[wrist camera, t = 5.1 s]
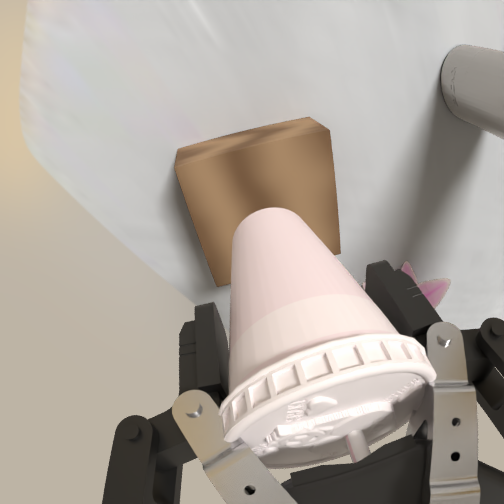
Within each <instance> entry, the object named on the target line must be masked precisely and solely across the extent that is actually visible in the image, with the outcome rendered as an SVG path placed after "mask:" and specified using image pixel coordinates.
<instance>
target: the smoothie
mask: <svg viewBox="0 0 504 504" xmlns="http://www.w3.org/2000/svg"><path fill="white" fill-rule="evenodd" d="M436 376H437V375H436V372H435V370H434V369H433V367H432V365H431V363H430V362H429V360H428V358H427V357H426V352H425V348H424V347H423V346H422V345H421V344H420V343H419V342H418V341H417V340H415V339H414V338H412V337H408V336H405V335H401V334H399V333H398V332H397V330H396V329H395V328H394V326H393V325H392V324H391V323H390V321H389V320H388V319H387V317H386V316H385V315H384V314H383V312H382V311H381V310H380V309H379V307H378V306H377V305H376V304H375V303H374V302H373V301H372V299H371V298H370V297H369V296H368V295H367V293H366V292H365V291H364V290H363V289H362V287H361V286H360V285H359V284H358V283H357V282H356V280H355V279H354V278H353V277H352V276H351V274H350V273H349V272H348V271H347V270H346V269H345V267H344V266H343V265H342V264H341V263H340V262H339V260H338V259H337V258H336V257H335V256H334V255H333V254H332V252H331V251H330V250H329V249H328V248H327V247H326V246H325V244H324V243H323V242H322V241H321V240H320V239H319V238H318V237H317V235H316V234H315V233H314V232H313V231H312V230H311V229H310V228H309V226H308V225H307V224H306V223H305V222H304V221H303V220H302V219H301V218H300V217H299V216H298V215H297V214H296V213H294V212H292V211H290V210H287V209H284V208H276V207H274V208H265V209H262V210H259V211H256V212H254V213H252V214H251V215H249V216H248V217H246V218H245V219H244V220H243V221H242V222H241V223H240V224H239V226H238V227H237V229H236V231H235V233H234V236H233V241H232V267H231V300H230V343H229V395H228V396H227V397H226V399H225V400H224V401H223V402H222V403H221V406H220V409H219V412H218V415H220V416H221V420H222V428H223V436H224V437H223V438H224V440H225V441H226V442H234V441H236V440H238V439H239V437H241V438H242V440H243V441H244V442H245V443H246V444H247V445H248V446H249V447H250V449H251V450H252V451H253V452H254V454H255V455H256V456H257V457H258V458H259V460H260V461H261V462H262V463H263V465H264V466H265V467H266V468H267V469H283V468H294V467H303V466H309V465H314V464H318V463H323V462H326V461H330V460H334V459H337V458H340V457H343V456H346V455H349V454H350V456H351V459H352V462H353V463H356V462H358V461H360V460H362V459H363V458H365V457H366V456H368V455H370V454H371V453H370V450H369V447H368V446H370V445H372V444H374V443H376V442H378V441H379V440H381V439H383V438H385V437H386V436H388V435H390V434H391V433H393V432H395V431H396V430H397V429H399V428H400V427H402V426H403V425H404V424H406V423H407V422H408V421H409V420H410V417H411V414H412V411H413V410H416V411H417V410H418V408H419V407H420V405H421V403H422V401H423V398H424V391H425V386H426V385H427V384H428V382H432V381H434V380H435V379H436Z"/></svg>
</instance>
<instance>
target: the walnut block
mask: <svg viewBox="0 0 504 504" xmlns="http://www.w3.org/2000/svg"><path fill="white" fill-rule="evenodd" d="M174 169H175V172H176V175H177V178H178V181H179V183H180V186H181V189H182V192H183V195H184V198H185V201H186V204H187V207H188V209H189V212H190V215H191V218H192V221H193V224H194V226H195V229H196V232H197V235H198V238H199V240H200V243H201V246H202V249H203V251H204V254H205V257H206V259H207V262H208V265H209V267H210V270H211V273H212V275H213V278H214V281H215V283H216V286H217V287H219V286H223V285H227V284H231V267H232V241H233V236H234V233H235V231H236V229H237V227H238V226H239V224H240V223H241V222H242V221H243V220H244V219H245V218H246V217H248V216H249V215H251V214H252V213H254V212H256V211H259V210H262V209H265V208H274V207H276V208H284V209H287V210H290V211H292V212H294V213H296V214H297V215H298V216H299V217H300V218H301V219H302V220H303V221H304V222H305V223H306V224H307V225H308V226H309V228H310V229H311V230H312V231H313V232H314V233H315V234H316V235H317V237H318V238H319V239H320V240H321V241H322V242H323V243H324V244H325V246H326V247H327V248H328V249H329V250H330V251H331V252H332V254H333V255H338V254H341V250H340V233H339V218H338V205H337V193H336V183H335V172H334V163H333V154H332V145H331V137H330V130H329V129H327V128H326V127H324V126H323V125H321V124H320V123H318V122H316V121H315V120H313V119H312V118H310V117H306V118H301V119H296V120H291V121H286V122H281V123H276V124H272V125H267V126H263V127H259V128H254V129H250V130H246V131H242V132H238V133H234V134H230V135H226V136H222V137H218V138H215V139H211V140H207V141H204V142H200V143H197V144H193V145H190V146H186V147H183V148H180V149H178V151H177V156H176V161H175V166H174Z"/></svg>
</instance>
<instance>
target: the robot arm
mask: <svg viewBox="0 0 504 504" xmlns="http://www.w3.org/2000/svg"><path fill="white" fill-rule="evenodd" d="M441 86H442V93H443V96H444V100H445V102H446V104H447V106H448V108H449V109H450V111H451V112H452V113H453V114H454V115H455V116H456V117H458V118H460V119H462V120H464V121H466V122H468V123H471V124H473V125H475V126H477V127H479V128H482V129H483V130H485V131H488V132H490V133H492V134H494V135H496V136H498V137H500V138H502V139H504V52H503V51H498V50H493V49H489V48H483V47H477V46H471V45H460V46H457V47H455V48H454V49H452V50H451V51H450V52H449V54H448V55H447V57H446V59H445V61H444V64H443V67H442V73H441ZM365 292H366V293H367V295H368V296H369V297H370V298H371V299H372V301H373V302H374V303H375V304H376V305H377V306H378V307H379V309H380V310H381V311H382V312H383V314H384V315H385V316H386V317H387V319H388V320H389V321H390V323H391V324H392V325H393V326H394V328H395V329H396V330H397V332H398V333H399V334H401V335H405V336H408V337H412V338H414V339H415V340H417V341H418V342H419V343H420V344H421V345H422V346H423V347H424V348H425V352H426V357H427V358H428V360H429V362H430V363H431V365H432V367H433V369H434V370H435V372H436V375H437V376H436V379H435V380H434V381H432V382H428V384H427V385H426V386H425V391H424V398H423V401H422V403H421V405H420V407H419V408H418V410H417V411H416V410H413V411H412V414H411V417H410V420H409V425H408V428H407V432H406V436H405V437H403V438H401V439H398V440H396V441H393V442H391V443H388V444H385V445H383V446H382V447H381V448H379V449H377V450H376V451H375V452H373V453H371V454H370V455H368V456H366V457H365V458H363V459H362V460H360V461H358V462H356V463H351V464H336V465H321V466H317V467H313V468H309V469H305V470H301V471H297V472H293V473H290V475H291V479H289V480H287V481H285V482H283V483H282V484H280V483H279V482H278V481H277V480H276V479H275V478H274V476H273V475H272V474H271V473H270V472H269V470H268V469H267V468H266V467H265V466H264V465H263V463H262V462H261V461H260V460H259V458H258V457H257V456H256V455H255V454H254V452H253V451H252V450H251V449H250V447H249V446H248V445H247V444H246V443H245V442H244V441H243V440H242V438H241V437H239V439H238V440H236V441H234V442H226V441H225V440H224V438H223V437H224V436H223V428H222V420H221V416H220V415H218V412H219V409H220V406H221V403H222V402H223V401H224V400H225V399H226V397H227V396H228V395H229V350H228V342H227V337H226V333H225V329H224V326H223V324H222V321H221V318H220V316H219V313H218V310H217V308H216V305H215V303H214V302H212V303H208V304H203V305H199V306H195V320H194V321H190V322H185V323H184V325H183V327H182V329H181V332H180V334H179V346H180V348H179V355H180V357H179V386H180V387H179V389H180V390H179V396H178V398H177V399H176V400H175V402H174V404H173V406H172V407H171V408H170V409H169V410H167V411H165V412H164V413H161V414H159V415H157V416H155V417H153V418H150V419H148V420H147V419H146V418H144V417H142V416H138V415H133V416H129V417H127V418H125V419H123V420H122V421H121V422H120V423H119V425H118V426H117V429H116V431H115V436H114V441H113V446H112V451H111V456H110V461H109V466H108V471H107V477H106V483H105V488H104V495H103V501H102V504H180V491H181V479H182V469H183V464H184V463H186V462H189V461H191V460H193V459H196V458H199V460H200V462H201V463H202V465H203V470H204V471H205V473H206V475H207V476H208V478H209V479H210V481H211V482H212V484H213V485H214V487H215V488H216V489H217V491H218V492H219V494H220V495H221V496H222V498H223V499H224V501H225V502H226V503H227V504H504V472H502V471H500V470H498V469H496V468H494V467H491V466H489V465H487V464H485V463H483V462H481V461H479V460H478V419H477V402H478V403H479V404H480V406H481V407H482V408H483V410H484V411H485V412H486V414H487V415H488V417H489V418H490V420H491V421H492V422H493V424H494V425H495V427H496V428H497V429H498V431H499V432H500V434H501V435H502V437H503V438H504V378H503V377H504V321H503V320H501V319H498V318H488V319H486V320H485V321H484V322H483V323H482V325H481V327H480V329H469V330H459V329H458V328H457V327H456V326H455V325H453V324H451V323H448V322H443V321H442V319H441V318H440V317H439V315H438V314H437V312H436V311H435V309H434V308H433V307H432V305H431V304H430V302H429V301H428V300H427V298H426V297H425V295H424V294H422V291H421V290H420V289H419V287H417V284H416V283H415V282H414V280H413V279H412V278H411V276H409V275H408V274H406V273H405V272H403V271H402V270H400V269H399V270H396V271H394V270H393V268H392V267H391V266H390V264H389V263H388V262H387V261H386V260H383V261H380V262H376V263H372V264H369V265H367V268H366V283H365ZM495 367H496V368H497V370H498V371H499V372H500V373H501V374H502V376H503V377H502V376H501V375H500V373H499V372H498V371H497V370H496V368H495ZM476 400H477V401H476Z"/></svg>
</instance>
